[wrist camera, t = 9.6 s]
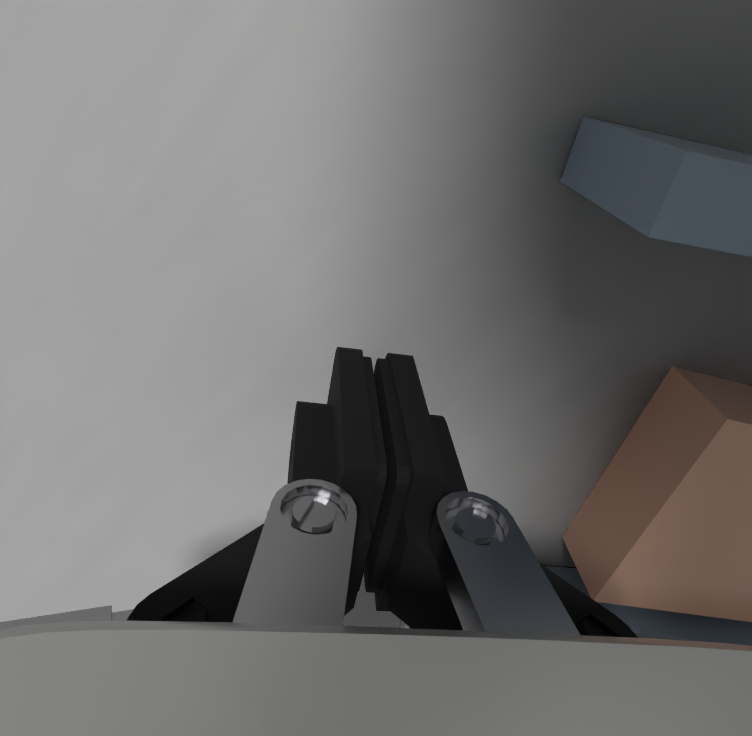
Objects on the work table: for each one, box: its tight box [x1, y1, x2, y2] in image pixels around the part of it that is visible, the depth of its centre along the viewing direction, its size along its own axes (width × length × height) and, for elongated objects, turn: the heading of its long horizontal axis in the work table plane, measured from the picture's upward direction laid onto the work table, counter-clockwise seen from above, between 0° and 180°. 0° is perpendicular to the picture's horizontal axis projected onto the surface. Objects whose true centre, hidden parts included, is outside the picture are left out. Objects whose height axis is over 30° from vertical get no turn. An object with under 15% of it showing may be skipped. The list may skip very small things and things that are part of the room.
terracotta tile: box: [562, 366, 752, 622], centre depth 15 cm, size 6×6×2 cm
